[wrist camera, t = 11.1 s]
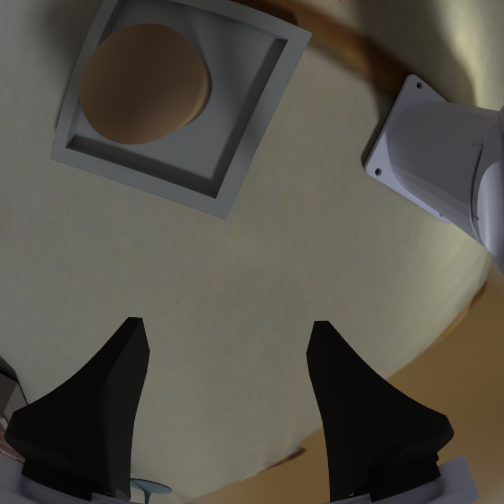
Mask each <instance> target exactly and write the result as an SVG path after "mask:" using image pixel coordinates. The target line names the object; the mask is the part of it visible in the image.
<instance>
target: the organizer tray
mask: <svg viewBox="0 0 504 504" xmlns="http://www.w3.org/2000/svg"><path fill="white" fill-rule="evenodd" d="M25 406H27V404H26V402H25V399H24V397H23V395H22V392H21V390H20V387H19V385H18V383H17V382H15V381H14V380H12V379H10V378H8V377H6V376H4V375H3V374H1V373H0V452H1V453H3V454H5V455H7V456H9V457H11V458H13V459H15V460H17V461H19V462H20V463H22V464H24V462H25V458H23V457H22V456H21V455H20V454H19V453H18V452H16V451H15V450H14V449H13V448H12V447H11V446H10V445H9V444H8V443H7V442H6V440H5V439H4V433H5V431H6V428H7V426H8V423H9V421H10V418H11V416H12V414H13V412H14V411H16V410H18V409H20V408H22V407H25Z"/></svg>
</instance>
